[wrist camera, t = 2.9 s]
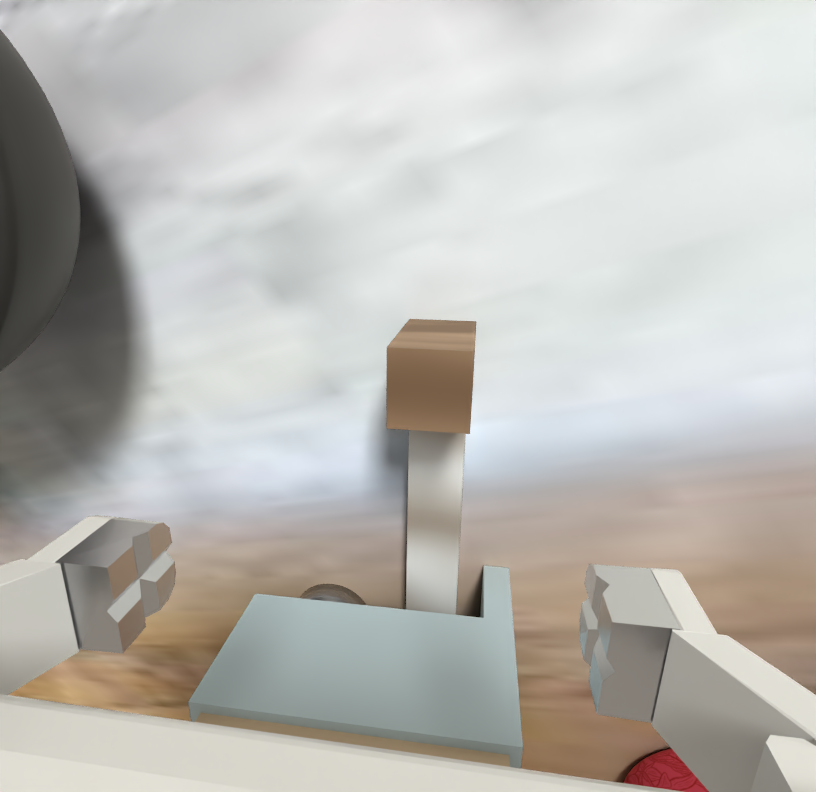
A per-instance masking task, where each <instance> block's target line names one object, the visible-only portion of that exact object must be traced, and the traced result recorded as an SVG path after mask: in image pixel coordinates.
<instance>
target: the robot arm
mask: <svg viewBox="0 0 816 792" xmlns="http://www.w3.org/2000/svg"><path fill="white" fill-rule="evenodd" d="M171 543H172V540H171V534H170V529H169V527H168V526H167V525H166V524H164V523H162V522H153V521H145V520H136V519H128V518H116V517H111V516H99V515H95V516H88V517H86V518H85V519H84V520H82V521H81V522H79V523H78V524H77V525H75V526H74V527H72V528H71V529H70V530H68V531H67V532H65V533H64V534H63V535H61V536H60V537H58V538H57V539H56V540H54V541H53V542H51V543H50V544H49V545H47V546H46V547H44V548H43V549H42V550H40V551H39V552H37V553H36V554H35V555H33V556H32V557H30V558H29V559H28V560H23V559H19V560H16V561H13V562H10V563H7V564H4V565H1V566H0V792H683V791H676V790H669V789H662V788H655V787H648V786H641V785H634V784H626V783H619V782H612V781H604V780H597V779H590V778H583V777H576V776H569V775H562V774H555V773H548V772H541V771H534V770H527V769H520V768H513V767H507V766H500V765H493V764H486V763H479V762H472V761H465V760H458V759H451V758H444V757H437V756H430V755H423V754H417V753H410V752H403V751H396V750H389V749H382V748H375V747H368V746H361V745H354V744H347V743H340V742H333V741H326V740H319V739H312V738H305V737H298V736H291V735H284V734H277V733H269V732H262V731H255V730H248V729H241V728H234V727H227V726H220V725H213V724H206V723H199V722H192V721H185V720H178V719H170V718H163V717H156V716H149V715H142V714H135V713H129V712H122V711H115V710H108V709H101V708H94V707H87V706H80V705H73V704H66V703H59V702H52V701H45V700H38V699H31V698H24V697H17V696H10V695H8V694H10V693H12V692H13V691H15V690H17V689H18V688H20V687H22V686H23V685H25V684H27V683H28V682H30V681H31V680H33V679H35V678H36V677H38V676H40V675H41V674H43V673H45V672H46V671H48V670H49V669H51V668H53V667H54V666H56V665H58V664H59V663H61V662H63V661H64V660H66V659H68V658H69V657H71V656H72V655H74V654H76V653H77V652H79V649H83V650H93V651H104V652H114V653H124V652H125V650H126V649H127V648H128V647H129V646H130V645H131V643H132V642H133V641H134V640H135V639H136V638H137V636H138V635H139V634H140V633H141V632H142V631H143V629H144V628H145V627H146V623H145V617H147V616H149V615H151V614H153V613H155V612H157V611H159V610H160V609H161V608H162V607H163V606H164V604H165V603H166V602H167V601H168V599H169V597H170V595H171V592H172V590H173V587H174V585H175V576H176V569H175V562H174V560H173V559H172V558H171V557H170V555H169V554H168V553H167V552H166V550H167V549H168V547H169V546H170V544H171ZM585 587H586V590H587V594H588V597H589V598H588V599H587V600H585V601H584V602H583V603H582V604H581V613H580V643H581V649H582V654H583V658H584V660H585V661H586V662H587V663H588V664H589V665H590V666H591V669H590V675H589V684H590V688H591V692H592V696H593V700H594V704H595V708H596V712H597V714H598V715H604V716H611V717H617V718H624V719H630V720H636V721H643V722H649V723H652V726H653V728H654V729H655V730H656V731H657V732H658V733H659V735H660V736H661V737H662V738H663V739H664V740H665V741H666V743H667V744H668V745H669V746H670V747H671V748H672V750H673V751H674V752H675V753H676V754H677V755H678V756H679V758H680V759H681V760H682V761H683V762H684V763H685V764H686V766H687V767H688V768H689V769H690V770H691V771H692V773H693V774H694V775H695V776H696V777H697V778H698V779H699V781H700V782H701V783H702V784H703V785H704V786H705V788H706V789H707V790H708V791H709V792H816V695H815V694H813V693H812V692H810V691H809V690H807V689H806V688H805V687H803V686H802V685H800V684H799V683H797V682H796V681H794V680H793V679H791V678H790V677H788V676H787V675H785V674H784V673H782V672H781V671H779V670H778V669H776V668H775V667H773V666H772V665H770V664H769V663H768V662H766V661H765V660H763V659H762V658H760V657H759V656H757V655H756V654H754V653H753V652H751V651H750V650H748V649H747V648H745V647H744V646H742V645H741V644H739V643H738V642H736V641H735V640H733V639H732V638H731V637H729V636H728V635H719V634H717V632H716V630H715V629H714V627H713V625H712V624H711V622H710V620H709V619H708V617H707V615H706V614H705V612H704V610H703V609H702V607H701V605H700V604H699V602H698V600H697V599H696V597H695V595H694V594H693V592H692V590H691V589H690V587H689V585H688V584H687V582H686V580H685V579H684V577H683V575H682V574H681V572H679V571H678V570H674V569H658V568H637V567H624V566H610V565H597V564H589V565H588V568H587V571H586V577H585Z"/></svg>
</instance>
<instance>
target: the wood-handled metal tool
mask: <svg viewBox="0 0 816 792" xmlns="http://www.w3.org/2000/svg"><path fill="white" fill-rule="evenodd" d="M475 335H476V322H475V321H448V320H422V319H409V321H408V322H407V323H406V324H405V325H404V327H403V328H402V329H401V330H400V332H399V333H398V334H397V335H396V337H395V338H394V339H393V340H392V342H391V343H390V344H389V345H388V347H387V429H402V430H409V455H408V515H407V575H406V610H415V611H424V612H433V613H443V614H452V615H456V604H457V587H458V568H459V549H460V530H461V511H462V492H463V472H464V453H465V434H470V422H471V405H472V389H473V371H474V353H475Z"/></svg>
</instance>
